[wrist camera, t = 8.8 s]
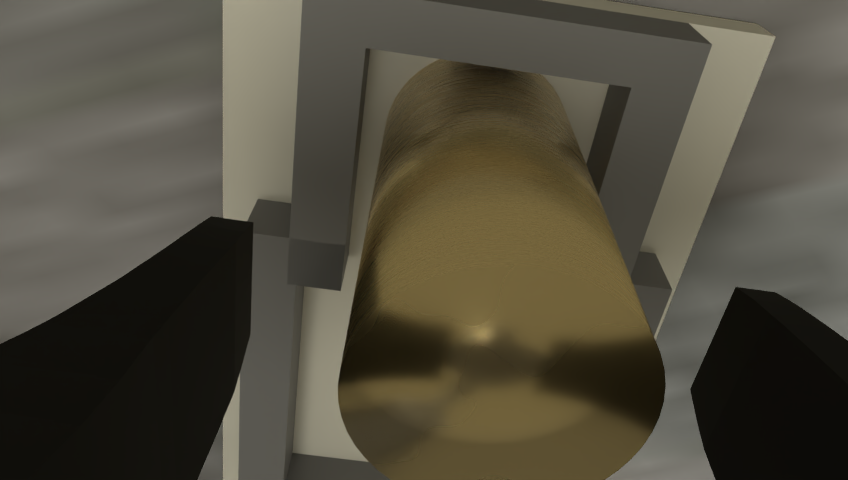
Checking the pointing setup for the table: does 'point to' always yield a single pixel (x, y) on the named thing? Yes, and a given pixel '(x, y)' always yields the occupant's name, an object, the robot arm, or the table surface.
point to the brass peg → (493, 295)
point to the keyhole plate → (360, 151)
